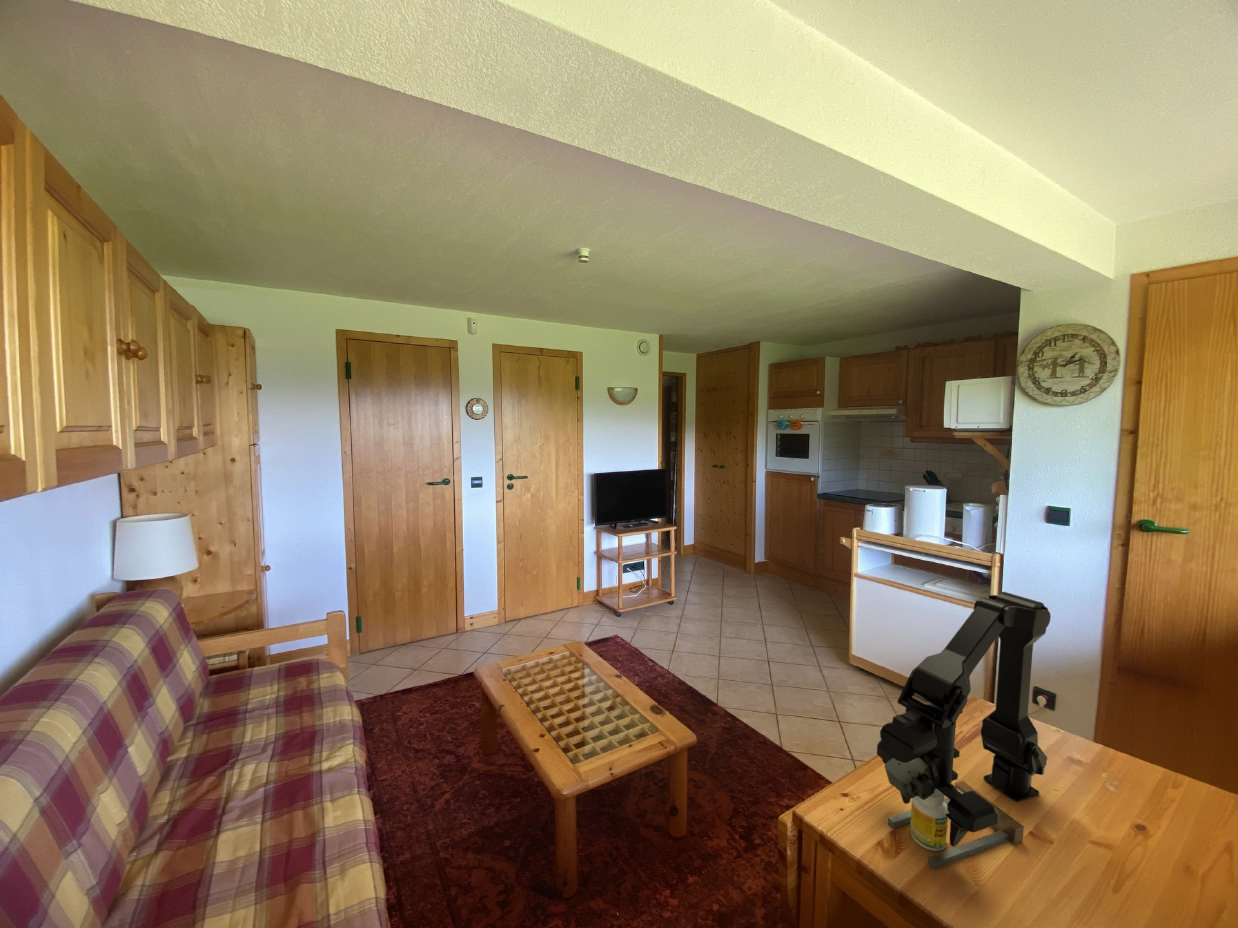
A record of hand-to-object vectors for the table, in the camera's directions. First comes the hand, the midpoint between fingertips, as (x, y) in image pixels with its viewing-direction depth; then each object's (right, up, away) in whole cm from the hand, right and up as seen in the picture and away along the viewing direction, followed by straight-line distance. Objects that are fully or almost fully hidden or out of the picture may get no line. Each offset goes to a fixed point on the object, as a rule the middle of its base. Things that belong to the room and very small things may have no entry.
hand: (928, 822), depth 86 cm
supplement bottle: (0, -3, 0) cm, 3 cm away
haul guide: (+5, -3, +2) cm, 6 cm away
